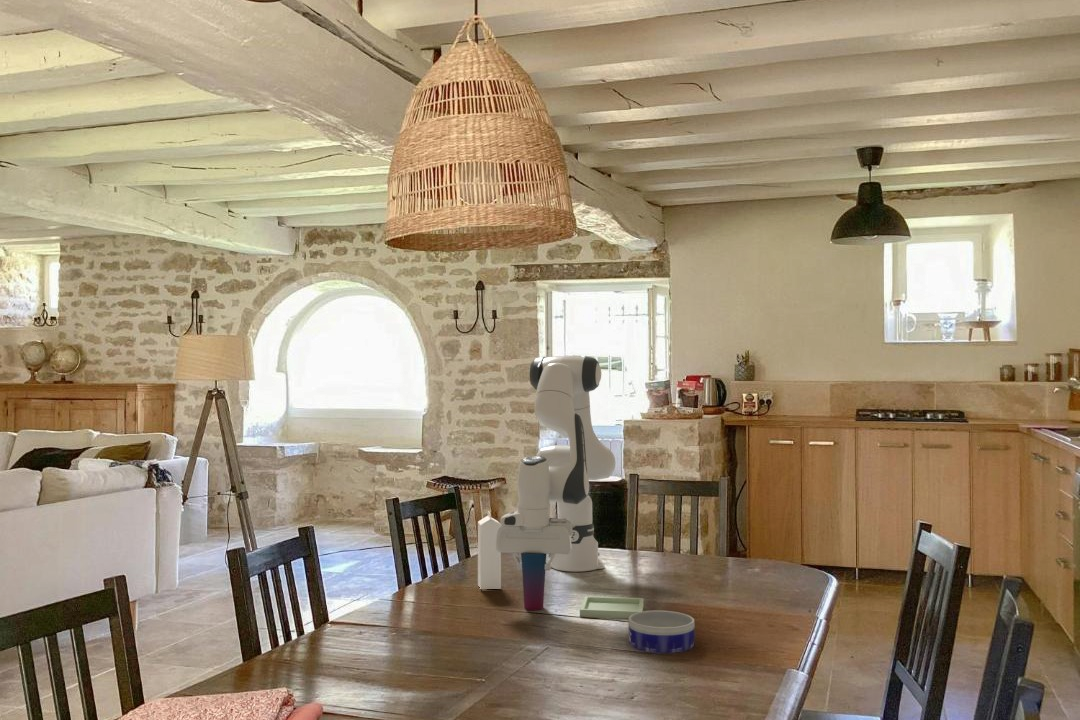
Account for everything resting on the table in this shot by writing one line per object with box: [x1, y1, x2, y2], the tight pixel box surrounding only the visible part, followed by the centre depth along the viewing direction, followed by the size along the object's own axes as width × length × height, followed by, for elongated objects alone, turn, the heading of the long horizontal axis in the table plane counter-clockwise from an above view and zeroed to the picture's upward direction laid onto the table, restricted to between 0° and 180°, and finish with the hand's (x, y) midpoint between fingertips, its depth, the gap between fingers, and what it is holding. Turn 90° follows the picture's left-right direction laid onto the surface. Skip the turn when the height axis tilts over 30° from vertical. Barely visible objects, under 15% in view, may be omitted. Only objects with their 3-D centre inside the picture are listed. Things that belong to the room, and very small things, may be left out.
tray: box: [579, 595, 645, 619], centre depth 243 cm, size 14×16×2 cm
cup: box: [520, 553, 547, 611], centre depth 246 cm, size 7×7×15 cm
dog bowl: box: [627, 609, 696, 654], centre depth 215 cm, size 15×15×6 cm
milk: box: [477, 510, 502, 590], centre depth 268 cm, size 6×6×22 cm
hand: (533, 569), depth 246 cm, fingers closed on cup, 6 cm apart
